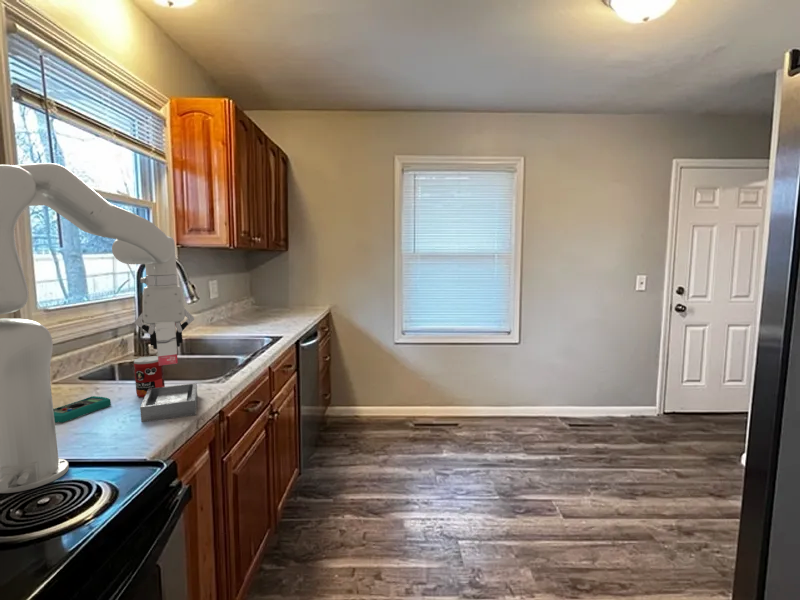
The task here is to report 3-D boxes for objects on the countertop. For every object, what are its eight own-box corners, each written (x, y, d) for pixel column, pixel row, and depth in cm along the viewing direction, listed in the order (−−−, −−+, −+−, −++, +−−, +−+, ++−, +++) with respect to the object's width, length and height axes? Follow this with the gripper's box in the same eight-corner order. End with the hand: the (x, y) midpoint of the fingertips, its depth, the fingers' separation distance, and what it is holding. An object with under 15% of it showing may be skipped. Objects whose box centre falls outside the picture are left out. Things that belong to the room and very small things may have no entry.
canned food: (130, 396, 144) (127, 361, 143) (150, 389, 152) (147, 355, 151) (151, 398, 142) (149, 362, 141) (170, 390, 150) (168, 356, 149)
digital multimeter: (41, 422, 125) (40, 411, 125) (94, 404, 139) (93, 394, 139) (60, 425, 123) (59, 414, 122) (112, 406, 137) (111, 396, 136)
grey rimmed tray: (195, 414, 127) (194, 400, 127) (141, 422, 122) (140, 407, 122) (197, 395, 144) (196, 383, 143) (149, 401, 139) (148, 388, 138)
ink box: (178, 364, 129) (174, 321, 127) (157, 366, 127) (154, 322, 125) (177, 357, 137) (174, 317, 135) (158, 359, 134) (155, 318, 133)
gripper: (124, 283, 122) (130, 352, 124) (195, 281, 129) (200, 346, 131) (128, 282, 129) (134, 347, 131) (196, 279, 136) (200, 341, 138)
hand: (167, 346), depth 131 cm, fingers closed on ink box, 5 cm apart
